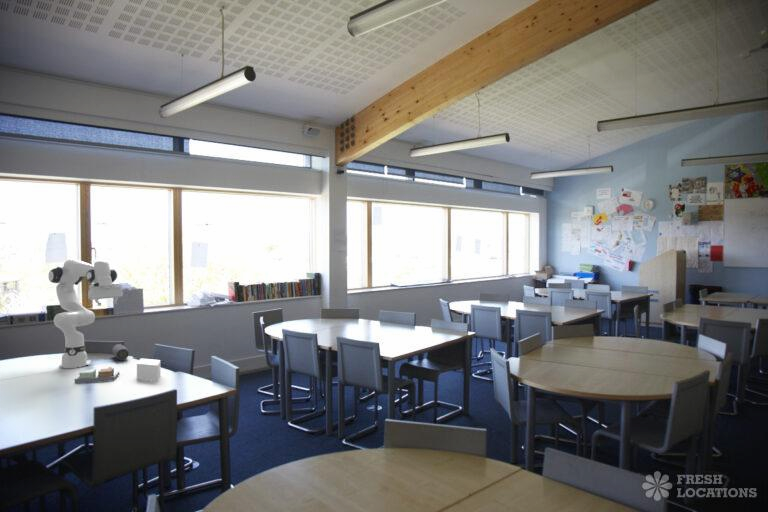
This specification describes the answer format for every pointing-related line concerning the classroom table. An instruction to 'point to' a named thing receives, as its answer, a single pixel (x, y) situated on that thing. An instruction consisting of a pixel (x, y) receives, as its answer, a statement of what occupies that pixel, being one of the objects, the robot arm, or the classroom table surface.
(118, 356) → the bluetooth speaker
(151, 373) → the white rectangular box
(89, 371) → the sage block
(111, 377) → the lane rack
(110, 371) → the walnut block
